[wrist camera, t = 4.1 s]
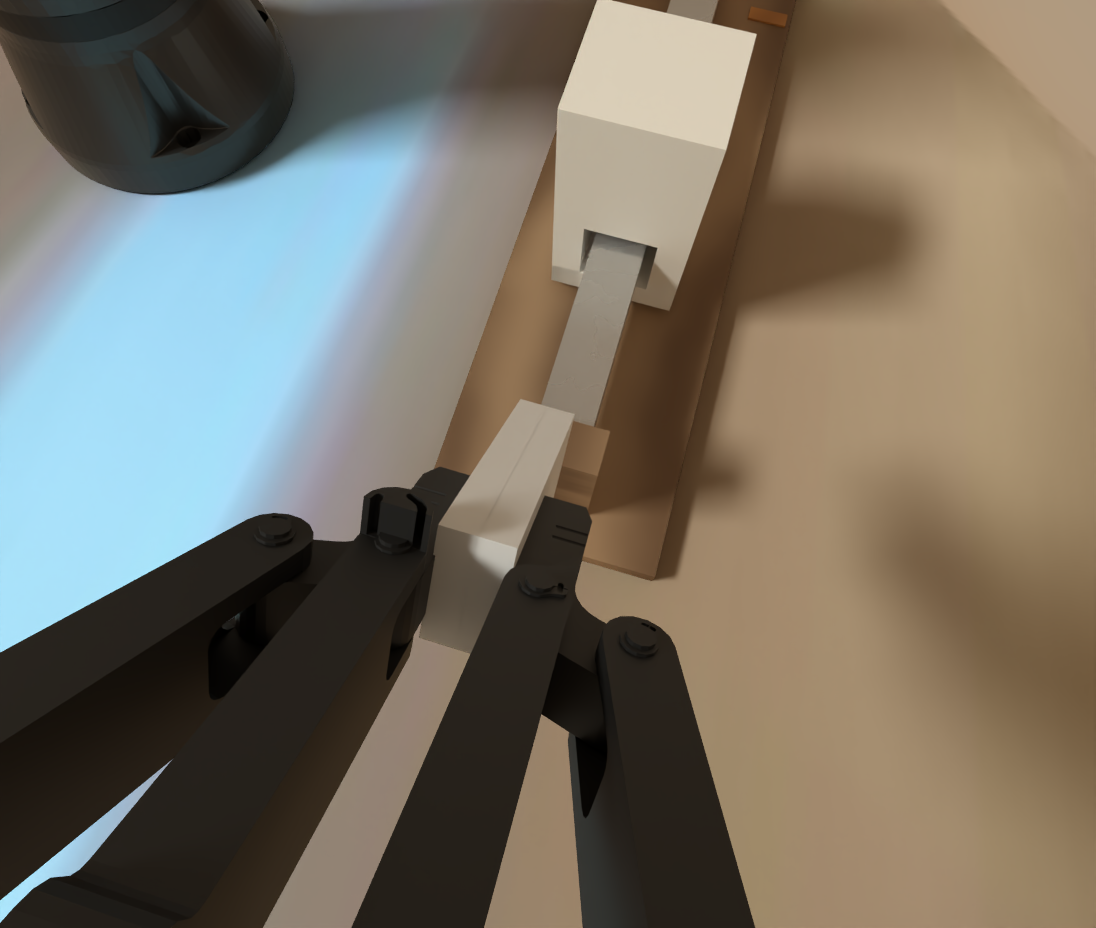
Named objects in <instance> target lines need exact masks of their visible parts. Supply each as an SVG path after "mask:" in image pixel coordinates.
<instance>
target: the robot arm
mask: <svg viewBox="0 0 1096 928" xmlns="http://www.w3.org/2000/svg"><path fill="white" fill-rule="evenodd" d="M0 44H1V46H2V48H3V51H4V53H5V55H6V57H7V59H8V62H9V64H10V66H11V68H12V70H13V72H14V74H15V77H16V79H17V81H18V83H19V85H20V87H21V90H22V94H23V97H24V99H25V102H26V106H27V108H28V111H29V113H30V115H31V117H32V119H33V121H34V122H35V124H36V125H37V127H38V128H39V130H40V131H41V133H42V134H43V135H44V136H45V137H46V138H47V140H48V141H49V142H50V143H51V144H52V145H53V146H54V147H55V149H56V150H57V151H58V152H59V153H60V154H61V155H62V156H63V158H64V159H65V160H66V161H67V162H68V163H69V164H70V165H71V166H72V167H74V168H75V169H76V170H77V171H79V172H80V173H82V174H83V175H85V176H86V177H88V178H90V179H92V180H94V181H96V182H98V183H100V184H103V185H105V186H108V187H112V188H115V189H119V190H124V191H130V192H138V193H167V192H175V191H182V190H186V189H191V188H195V187H198V186H202V185H205V184H208V183H210V182H213V181H215V180H218V179H220V178H222V177H224V176H226V175H228V174H230V173H232V172H234V171H236V170H237V169H239V168H240V167H242V166H244V165H245V164H246V163H248V162H249V161H251V160H252V159H253V158H254V157H255V156H257V155H258V154H259V153H260V152H261V151H262V150H263V149H264V148H265V147H266V146H267V145H268V144H269V143H270V142H271V141H272V139H273V138H274V137H275V135H276V134H277V133H278V131H279V130H280V128H281V126H282V125H283V123H284V121H285V119H286V117H287V115H288V112H289V109H290V106H291V103H292V98H293V93H294V75H293V69H292V65H291V62H290V59H289V56H288V54H287V51H286V49H285V46H284V44H283V41H282V39H281V36H280V34H279V31H278V29H277V27H276V25H275V23H274V21H273V20H272V18H271V16H270V15H269V13H268V12H267V10H266V9H265V8H264V7H263V5H262V4H261V3H260V2H259V1H258V0H0ZM574 416H575V414H572V413H569V412H565V411H562V410H558V409H554V408H551V407H547V406H544V405H540V404H537V403H533V402H529V401H526V400H522V399H520V400H519V402H518V403H517V405H516V407H515V408H514V410H513V411H512V413H511V414H510V416H509V417H508V419H507V420H506V422H505V423H504V425H503V426H502V428H501V429H500V431H499V433H498V434H497V436H496V437H495V439H494V440H493V442H492V443H491V445H490V446H489V448H488V449H487V451H486V452H485V454H484V455H483V457H482V459H481V460H480V462H479V463H478V465H477V466H476V468H475V469H474V471H473V472H472V474H471V475H467V474H464V473H460V472H457V471H453V470H450V469H446V468H443V467H438V468H435V469H433V470H431V471H429V472H427V473H424V474H423V475H422V476H421V478H420V479H419V480H418V481H417V483H416V484H415V486H414V487H413V488H412V489H411V490H410V489H405V488H399V487H386V488H380V489H377V490H373V491H371V492H370V493H368V494H367V495H365V496H364V500H363V510H362V520H361V529H360V534H359V535H358V536H357V537H356V539H355V540H354V541H348V542H335V541H323V540H313V531H312V529H311V526H310V525H309V524H308V523H306V522H305V521H304V520H302V519H301V518H298V517H295V516H292V515H289V514H278V513H271V514H263V515H258V516H255V517H253V518H250V519H247V520H245V521H244V522H242V523H240V524H238V525H236V526H234V527H232V528H231V529H229V530H227V531H225V532H223V533H221V534H219V535H218V536H216V537H214V538H212V539H210V540H208V541H206V542H205V543H203V544H201V545H199V546H197V547H195V548H193V549H192V550H190V551H188V552H186V553H184V554H182V555H180V556H179V557H177V558H175V559H173V560H171V561H169V562H167V563H166V564H164V565H162V566H160V567H158V568H156V569H154V570H153V571H151V572H149V573H147V574H145V575H143V576H141V577H140V578H138V579H136V580H134V581H132V582H130V583H128V584H127V585H125V586H123V587H121V588H119V589H117V590H115V591H114V592H112V593H110V594H108V595H106V596H104V597H102V598H101V599H99V600H97V601H95V602H93V603H91V604H90V605H88V606H86V607H84V608H82V609H80V610H78V611H77V612H75V613H73V614H71V615H69V616H67V617H65V618H64V619H62V620H60V621H58V622H56V623H54V624H52V625H51V626H49V627H47V628H45V629H43V630H41V631H39V632H38V633H36V634H34V635H32V636H30V637H28V638H26V639H25V640H23V641H21V642H19V643H17V644H15V645H13V646H12V647H10V648H8V649H6V650H4V651H2V652H0V900H1V899H2V898H3V897H5V896H6V895H7V894H8V893H10V892H11V891H12V890H13V889H14V888H16V887H17V886H18V885H19V884H21V883H22V882H23V881H24V880H25V879H27V878H28V877H29V876H30V875H32V874H33V873H34V872H35V871H36V870H38V869H39V868H40V867H41V866H43V865H44V864H45V863H46V862H47V861H49V860H50V859H51V858H52V857H54V856H55V855H56V854H57V853H58V852H60V851H61V850H62V849H63V848H64V847H66V846H67V845H68V844H69V843H71V842H72V841H73V840H74V839H75V838H77V837H78V836H79V835H80V834H82V833H83V832H84V831H85V830H86V829H88V828H89V827H90V826H91V825H93V824H94V823H95V822H96V821H97V820H99V819H100V818H101V817H102V816H104V815H105V814H106V813H107V812H108V811H110V810H111V809H112V808H113V807H115V806H116V805H117V804H118V803H119V802H121V801H122V800H123V799H124V798H126V797H127V796H128V795H129V794H130V793H132V792H133V791H134V790H135V789H137V788H138V787H139V786H140V785H141V784H143V783H144V782H145V781H146V780H148V779H149V778H150V777H151V776H152V775H154V774H155V773H156V772H157V771H158V770H160V769H161V768H162V767H163V766H165V765H166V764H167V763H168V762H169V761H171V760H172V761H171V762H170V763H169V764H168V765H167V767H166V768H165V769H164V770H163V772H162V773H161V774H160V775H159V776H158V778H157V779H156V780H155V781H154V782H153V784H152V785H151V786H150V787H149V788H148V790H147V791H146V792H145V793H144V794H143V796H142V797H141V798H140V799H139V800H138V802H137V803H136V804H135V805H134V807H133V808H132V809H131V810H130V811H129V813H128V814H127V815H126V816H125V817H124V819H123V820H122V821H121V822H120V823H119V825H118V826H117V827H116V828H115V829H114V831H113V832H112V833H111V834H110V835H109V837H108V838H107V839H106V840H105V842H104V843H103V844H102V845H101V846H100V848H99V849H98V850H97V851H96V852H95V854H94V855H93V856H92V857H91V858H90V860H89V861H88V862H87V863H86V864H85V865H84V866H83V867H82V868H81V869H80V870H78V871H77V872H75V873H74V874H72V875H71V876H64V877H54V878H49V879H48V880H46V881H45V882H43V883H41V884H40V885H38V886H37V887H35V888H34V889H32V890H31V891H30V892H29V893H28V894H27V895H26V896H25V897H24V898H23V899H22V900H21V901H20V902H19V903H18V904H17V905H16V906H15V907H14V908H13V909H12V910H11V911H10V912H9V914H8V915H7V916H6V917H5V918H4V919H3V920H2V922H1V923H0V928H263V926H264V924H265V922H266V921H267V919H268V917H269V915H270V913H271V911H272V910H273V908H274V906H275V904H276V902H277V900H278V898H279V897H280V895H281V893H282V891H283V889H284V887H285V885H286V884H287V882H288V880H289V878H290V876H291V874H292V873H293V871H294V869H295V867H296V865H297V863H298V861H299V860H300V858H301V856H302V854H303V852H304V850H305V848H306V847H307V845H308V843H309V841H310V839H311V837H312V836H313V834H314V832H315V830H316V828H317V826H318V824H319V823H320V821H321V819H322V817H323V815H324V813H325V811H326V810H327V808H328V806H329V804H330V802H331V800H332V799H333V797H334V795H335V793H336V791H337V789H338V787H339V786H340V784H341V782H342V780H343V778H344V776H345V774H346V773H347V771H348V769H349V767H350V765H351V763H352V762H353V760H354V758H355V756H356V754H357V752H358V750H359V749H360V747H361V745H362V743H363V741H364V739H365V737H366V736H367V734H368V732H369V730H370V728H371V726H372V725H373V723H374V721H375V719H376V717H377V715H378V713H379V712H380V710H381V708H382V706H383V704H384V702H385V700H386V699H387V697H388V695H389V693H390V691H391V689H392V688H393V686H394V684H395V682H396V680H397V678H398V676H399V675H400V673H401V671H402V669H403V667H404V665H405V663H406V662H407V660H408V658H409V656H410V652H411V648H412V642H413V636H414V633H415V632H416V630H417V628H418V626H419V624H420V623H421V621H422V624H421V630H420V636H419V638H422V639H425V640H428V641H432V642H435V643H438V644H441V645H445V646H448V647H451V648H454V649H457V650H461V651H464V652H467V653H470V657H469V659H468V661H467V663H466V666H465V668H464V670H463V673H462V675H461V677H460V680H459V682H458V684H457V686H456V689H455V691H454V693H453V696H452V698H451V700H450V702H449V705H448V707H447V709H446V712H445V714H444V716H443V719H442V721H441V723H440V725H439V728H438V730H437V732H436V735H435V737H434V739H433V742H432V744H431V746H430V748H429V751H428V753H427V755H426V758H425V760H424V762H423V765H422V767H421V769H420V771H419V774H418V776H417V778H416V781H415V783H414V785H413V788H412V790H411V792H410V794H409V797H408V799H407V801H406V804H405V806H404V808H403V810H402V813H401V815H400V817H399V820H398V822H397V824H396V827H395V829H394V831H393V833H392V836H391V838H390V840H389V843H388V845H387V847H386V850H385V852H384V854H383V856H382V859H381V861H380V863H379V866H378V868H377V870H376V873H375V875H374V877H373V879H372V882H371V884H370V886H369V889H368V891H367V893H366V896H365V898H364V900H363V902H362V905H361V907H360V909H359V912H358V914H357V916H356V918H355V921H354V923H353V925H352V928H484V925H485V921H486V918H487V914H488V910H489V907H490V903H491V899H492V895H493V892H494V888H495V884H496V881H497V877H498V873H499V869H500V866H501V862H502V858H503V855H504V851H505V847H506V843H507V840H508V836H509V832H510V829H511V825H512V821H513V817H514V814H515V810H516V806H517V803H518V799H519V795H520V791H521V788H522V784H523V780H524V777H525V773H526V769H527V765H528V762H529V758H530V754H531V750H532V747H533V743H534V739H535V736H536V732H537V728H538V724H539V721H540V717H541V714H542V715H544V716H545V717H547V718H548V719H550V720H551V721H553V722H555V723H556V724H558V725H559V726H561V727H562V728H564V729H565V730H567V731H568V732H569V737H568V748H569V760H570V773H571V785H572V798H573V811H574V823H575V836H576V848H577V861H578V873H579V886H580V899H581V911H582V924H583V928H755V926H754V922H753V919H752V915H751V912H750V908H749V905H748V901H747V897H746V894H745V890H744V887H743V883H742V880H741V876H740V873H739V869H738V866H737V862H736V859H735V855H734V852H733V848H732V845H731V841H730V838H729V834H728V831H727V827H726V824H725V820H724V817H723V813H722V810H721V806H720V802H719V799H718V795H717V792H716V788H715V785H714V781H713V778H712V774H711V771H710V767H709V764H708V760H707V757H706V753H705V750H704V746H703V743H702V739H701V736H700V732H699V729H698V725H697V722H696V718H695V715H694V711H693V707H692V704H691V700H690V697H689V693H688V690H687V686H686V683H685V679H684V676H683V672H682V669H681V665H680V662H679V658H678V655H677V651H676V648H675V646H674V644H673V642H672V640H671V638H670V636H669V635H668V634H666V633H665V632H664V631H663V630H662V629H661V628H660V627H659V626H657V625H655V624H653V623H651V622H649V621H648V620H644V619H641V618H637V617H633V616H620V617H618V618H615V619H612V620H610V621H609V622H608V623H607V624H606V623H604V622H602V621H601V620H599V619H597V618H596V617H594V616H593V615H591V614H590V613H589V612H588V611H586V610H585V609H584V608H583V607H582V605H581V604H580V602H579V601H578V599H577V597H576V593H575V584H576V581H577V577H578V573H579V569H580V566H581V562H582V558H583V554H584V550H585V547H586V543H587V539H588V535H589V532H590V528H591V524H592V520H591V517H590V515H589V512H588V510H587V508H586V507H583V506H580V505H576V504H573V503H569V502H566V501H562V500H559V499H555V498H554V494H555V490H556V486H557V482H558V478H559V475H560V471H561V467H562V463H563V459H564V455H565V451H566V447H567V443H568V440H569V436H570V432H571V428H572V424H573V420H574ZM234 616H235V617H234ZM231 618H232V619H231ZM228 620H229V621H228Z"/></svg>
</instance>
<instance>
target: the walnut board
mask: <svg viewBox="0 0 1096 928" xmlns="http://www.w3.org/2000/svg"><path fill="white" fill-rule="evenodd" d="M612 1H616V2H621V3H625V4H629V5H634V6H638V7H642V8H647V9H651V10H655V11H660V12H664V13H667V10H668V7H669V4H670V1H671V0H612ZM795 2H796V0H719V2H718V5H717V9H716V12H715V16H714V19H713V23H712V24H716V25H720V26H724V27H729V28H733V29H737V30H742V31H746V32H750V33H755V34H757V35H756V39H755V43H754V46H753V50H752V54H751V58H750V62H749V65H748V69H747V73H746V77H745V81H744V84H743V88H742V92H741V96H740V100H739V104H738V107H737V111H736V115H735V119H734V123H733V126H732V130H731V134H730V138H729V142H728V145H727V149H726V152H725V155H724V158H723V161H722V164H721V166H720V169H719V172H718V175H717V178H716V181H715V183H714V186H713V189H712V192H711V195H710V197H709V200H708V203H707V206H706V209H705V212H704V214H703V217H702V220H701V223H700V226H699V228H698V231H697V234H696V237H695V240H694V243H693V245H692V248H691V251H690V254H689V257H688V260H687V262H686V265H685V268H684V271H683V274H682V276H681V279H680V282H679V285H678V288H677V291H676V293H675V296H674V299H673V302H672V305H671V307H670V310H669V311H668V310H664V309H660V308H656V307H653V306H649V305H645V304H641V303H637V302H634V301H631V305H630V308H629V312H628V315H627V318H626V322H625V325H624V329H623V332H622V336H621V339H620V342H619V346H618V349H617V353H616V356H615V360H614V363H613V367H612V370H611V373H610V377H609V380H608V384H607V387H606V391H605V394H604V398H603V401H602V404H601V408H600V411H599V415H598V418H597V422H596V425H595V427H593V426H590V425H586V424H583V423H579V422H575V421H573V424H572V428H571V432H570V436H569V440H568V443H567V447H566V451H565V455H564V459H563V463H562V467H561V471H560V475H559V478H558V482H557V486H556V490H555V494H554V498H555V499H559V500H562V501H566V502H569V503H573V504H576V505H580V506H583V507H586V508H587V510H588V512H589V515H590V517H591V520H592V524H591V528H590V532H589V535H588V539H587V543H586V547H585V550H584V554H583V558H582V561H585V562H589V563H592V564H595V565H599V566H602V567H606V568H609V569H613V570H616V571H619V572H623V573H626V574H630V575H633V576H636V577H640V578H643V579H647V580H650V581H651V580H653V579H654V578H655V575H656V571H657V567H658V563H659V559H660V555H661V551H662V547H663V543H664V539H665V534H666V530H667V526H668V522H669V518H670V514H671V510H672V506H673V502H674V498H675V493H676V489H677V485H678V481H679V477H680V473H681V469H682V465H683V461H684V457H685V453H686V448H687V444H688V440H689V436H690V432H691V428H692V424H693V420H694V416H695V412H696V408H697V403H698V399H699V395H700V391H701V387H702V383H703V379H704V375H705V371H706V367H707V363H708V358H709V354H710V350H711V346H712V342H713V338H714V334H715V330H716V326H717V322H718V318H719V313H720V309H721V305H722V301H723V297H724V293H725V289H726V285H727V281H728V277H729V272H730V268H731V264H732V260H733V256H734V252H735V248H736V244H737V240H738V236H739V232H740V227H741V223H742V219H743V215H744V211H745V207H746V203H747V199H748V195H749V191H750V187H751V182H752V178H753V174H754V170H755V166H756V162H757V158H758V154H759V150H760V146H761V142H762V137H763V133H764V129H765V125H766V121H767V117H768V113H769V109H770V105H771V101H772V96H773V92H774V88H775V84H776V80H777V76H778V72H779V68H780V64H781V60H782V56H783V51H784V47H785V43H786V39H787V35H788V31H789V27H790V23H791V19H792V15H793V11H794V6H795ZM556 138H557V130H556V132H555V135H554V138H553V141H552V143H551V146H550V149H549V152H548V155H547V157H546V160H545V163H544V166H543V168H542V171H541V174H540V177H539V179H538V182H537V185H536V188H535V191H534V193H533V196H532V199H531V202H530V204H529V207H528V210H527V213H526V216H525V218H524V221H523V224H522V227H521V229H520V232H519V235H518V238H517V240H516V243H515V246H514V249H513V252H512V254H511V257H510V260H509V263H508V265H507V268H506V271H505V274H504V276H503V279H502V282H501V285H500V288H499V290H498V293H497V296H496V299H495V301H494V304H493V307H492V310H491V313H490V315H489V318H488V321H487V324H486V326H485V329H484V332H483V335H482V337H481V340H480V343H479V346H478V349H477V351H476V354H475V357H474V360H473V362H472V365H471V368H470V371H469V374H468V376H467V379H466V382H465V385H464V387H463V390H462V393H461V396H460V398H459V401H458V404H457V407H456V410H455V412H454V415H453V418H452V421H451V423H450V426H449V429H448V432H447V434H446V437H445V440H444V443H443V446H442V448H441V451H440V454H439V457H438V459H437V462H436V465H435V468H438V467H443V468H446V469H450V470H453V471H457V472H460V473H464V474H467V475H471V474H472V472H473V471H474V469H475V468H476V466H477V465H478V463H479V462H480V460H481V459H482V457H483V455H484V454H485V452H486V451H487V449H488V448H489V446H490V445H491V443H492V442H493V440H494V439H495V437H496V436H497V434H498V433H499V431H500V429H501V428H502V426H503V425H504V423H505V422H506V420H507V419H508V417H509V416H510V414H511V413H512V411H513V410H514V408H515V407H516V405H517V403H518V402H519V400H520V399H522V400H526V401H529V402H533V403H537V404H540V405H541V404H542V400H543V397H544V394H545V391H546V388H547V385H548V382H549V379H550V375H551V372H552V369H553V366H554V363H555V360H556V357H557V354H558V350H559V347H560V344H561V341H562V338H563V335H564V332H565V329H566V325H567V322H568V319H569V316H570V313H571V310H572V307H573V304H574V300H575V297H576V294H577V291H578V288H579V287H577V286H573V285H569V284H565V283H561V282H558V281H554V280H551V278H552V250H553V222H554V194H555V166H556ZM435 468H434V469H435Z"/></svg>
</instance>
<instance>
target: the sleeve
mask: <svg viewBox="0 0 1096 928" xmlns="http://www.w3.org/2000/svg"><path fill="white" fill-rule="evenodd" d="M756 35H757V34H755V33H750V32H746V31H742V30H737V29H733V28H729V27H724V26H720V25H716V24H711V23H707V22H703V21H698V20H694V19H690V18H685V17H681V16H677V15H673V14H668V13H664V12H660V11H655V10H651V9H647V8H642V7H638V6H634V5H629V4H625V3H621V2H616V1H612V0H597V2H596V5H595V7H594V10H593V13H592V16H591V18H590V21H589V24H588V27H587V29H586V32H585V35H584V38H583V40H582V43H581V46H580V49H579V51H578V54H577V57H576V60H575V62H574V65H573V68H572V71H571V73H570V76H569V79H568V82H567V84H566V87H565V90H564V93H563V95H562V98H561V101H560V104H559V106H558V111H557V138H556V166H555V194H554V222H553V250H552V278H551V280H554V281H558V282H561V283H565V284H569V285H573V286H577V287H579V285H580V282H581V279H582V275H583V272H584V269H585V266H586V263H587V260H588V257H589V254H590V250H591V247H592V244H593V241H594V238H595V235H596V232H598V233H602V234H606V235H610V236H614V237H618V238H622V239H625V240H629V241H633V242H637V243H641V244H645V245H648V246H647V250H646V253H645V257H644V260H643V263H642V267H641V270H640V274H639V277H638V281H637V284H636V287H635V291H634V294H633V298H632V301H634V302H637V303H641V304H645V305H649V306H653V307H656V308H660V309H664V310H668V311H669V310H670V307H671V305H672V302H673V299H674V296H675V293H676V291H677V288H678V285H679V282H680V279H681V276H682V274H683V271H684V268H685V265H686V262H687V260H688V257H689V254H690V251H691V248H692V245H693V243H694V240H695V237H696V234H697V231H698V228H699V226H700V223H701V220H702V217H703V214H704V212H705V209H706V206H707V203H708V200H709V197H710V195H711V192H712V189H713V186H714V183H715V181H716V178H717V175H718V172H719V169H720V166H721V164H722V161H723V158H724V155H725V152H726V149H727V145H728V142H729V138H730V134H731V130H732V126H733V123H734V119H735V115H736V111H737V107H738V104H739V100H740V96H741V92H742V88H743V84H744V81H745V77H746V73H747V69H748V65H749V62H750V58H751V54H752V50H753V46H754V43H755V39H756Z"/></svg>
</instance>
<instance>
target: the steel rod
mask: <svg viewBox="0 0 1096 928" xmlns="http://www.w3.org/2000/svg"><path fill="white" fill-rule="evenodd" d="M718 2H719V0H671V1H670V4H669V7H668V10H667V13H668V14H673V15H677V16H681V17H685V18H690V19H694V20H698V21H703V22H707V23H711V24H712V23H713V19H714V16H715V12H716V9H717V5H718ZM647 246H648V245H645V244H641V243H637V242H633V241H629V240H625V239H622V238H618V237H614V236H610V235H606V234H602V233H598V232H596V235H595V238H594V241H593V244H592V247H591V250H590V254H589V257H588V260H587V263H586V266H585V269H584V272H583V275H582V279H581V282H580V285H579V288H578V291H577V294H576V297H575V300H574V304H573V307H572V310H571V313H570V316H569V319H568V322H567V325H566V329H565V332H564V335H563V338H562V341H561V344H560V347H559V350H558V354H557V357H556V360H555V363H554V366H553V369H552V372H551V375H550V379H549V382H548V385H547V388H546V391H545V394H544V397H543V400H542V404H541V405H544V406H547V407H551V408H554V409H558V410H562V411H565V412H569V413H572V414H575V416H574V420H573V421H575V422H579V423H583V424H586V425H590V426H593V427H595V425H596V422H597V418H598V415H599V411H600V408H601V404H602V401H603V398H604V394H605V391H606V387H607V384H608V380H609V377H610V373H611V370H612V367H613V363H614V360H615V356H616V353H617V349H618V346H619V342H620V339H621V336H622V332H623V329H624V325H625V322H626V318H627V315H628V312H629V308H630V305H631V301H632V298H633V294H634V291H635V287H636V284H637V281H638V277H639V274H640V270H641V267H642V263H643V260H644V257H645V253H646V250H647Z"/></svg>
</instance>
